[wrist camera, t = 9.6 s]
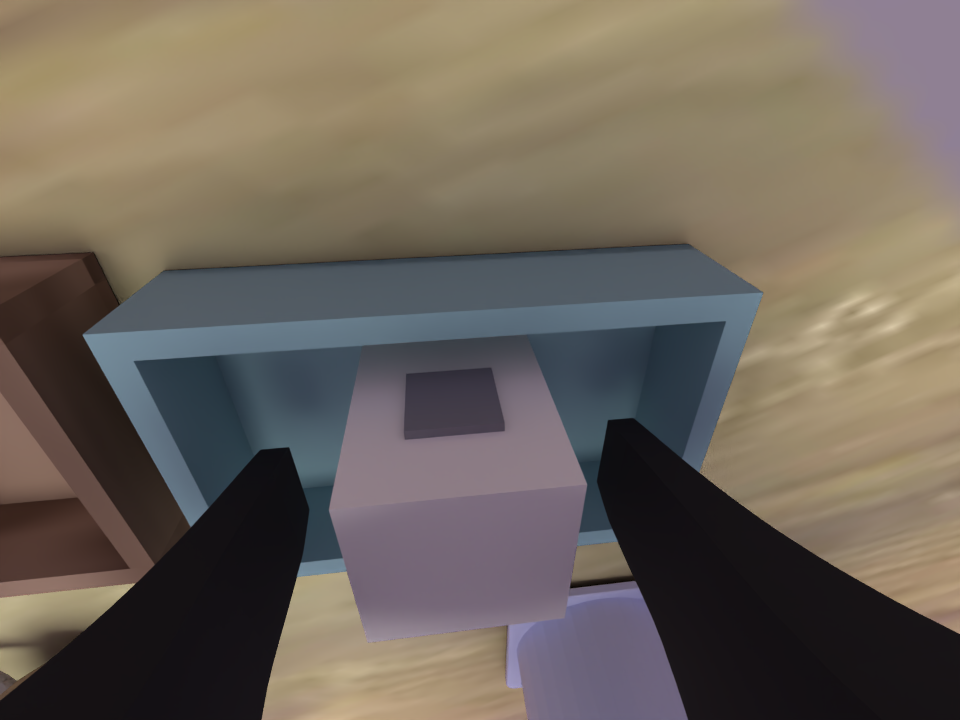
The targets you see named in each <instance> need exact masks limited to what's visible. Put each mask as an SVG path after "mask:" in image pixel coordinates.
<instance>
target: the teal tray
mask: <svg viewBox="0 0 960 720" xmlns="http://www.w3.org/2000/svg"><path fill="white" fill-rule="evenodd" d="M762 295H763V292H762V291H760V290H759V289H757V288H756V287H754V286H753V285H751V284H749V283H748V282H746V281H745V280H743V279H742V278H740V277H739V276H737V275H736V274H734V273H732V272H731V271H729V270H728V269H726V268H725V267H723V266H722V265H720V264H719V263H717V262H715V261H714V260H712V259H711V258H709V257H708V256H706V255H705V254H703V253H702V252H700V251H698V250H697V249H695V248H694V247H692V246H691V245H689V244H679V245H659V246H640V247H620V248H600V249H581V250H561V251H542V252H522V253H502V254H483V255H463V256H444V257H424V258H404V259H385V260H365V261H346V262H326V263H306V264H287V265H267V266H248V267H228V268H209V269H189V270H169V271H163V272H161V273H160V274H159V275H158V276H156V277H155V278H154V279H153V280H151V281H150V282H149V283H147V284H146V285H145V286H144V287H142V288H141V289H140V290H139V291H137V292H136V293H135V294H133V295H132V296H131V297H130V298H128V299H127V300H126V301H125V302H123V303H122V304H121V305H119V306H118V307H117V308H116V309H114V310H113V311H112V312H111V313H109V314H108V315H107V316H105V317H104V318H103V319H102V320H100V321H99V322H98V323H97V324H95V325H94V326H93V327H91V328H90V329H89V330H88V331H86V332H85V333H84V334H83V337H84V339H85V340H86V342H87V344H88V346H89V348H90V349H91V351H92V353H93V355H94V356H95V358H96V360H97V362H98V363H99V365H100V367H101V369H102V371H103V372H104V374H105V376H106V378H107V379H108V381H109V383H110V385H111V386H112V388H113V390H114V392H115V394H116V395H117V397H118V399H119V401H120V402H121V404H122V406H123V408H124V409H125V411H126V413H127V415H128V417H129V418H130V420H131V422H132V424H133V425H134V427H135V429H136V431H137V433H138V434H139V436H140V438H141V440H142V441H143V443H144V445H145V447H146V448H147V450H148V452H149V454H150V456H151V457H152V459H153V461H154V463H155V464H156V466H157V468H158V470H159V471H160V473H161V475H162V477H163V479H164V480H165V482H166V484H167V486H168V487H169V489H170V491H171V493H172V495H173V496H174V498H175V500H176V502H177V503H178V505H179V507H180V509H181V510H182V512H183V514H184V516H185V518H186V519H187V521H188V523H189V525H190V526H191V527H192V525H193V524H194V523H195V522H196V521H197V520H198V519H199V518H200V517H201V516H202V514H203V513H204V512H205V511H206V510H207V509H208V508H209V507H210V506H211V505H212V504H213V502H214V501H215V500H216V499H217V498H218V497H219V496H220V494H221V493H222V492H223V491H224V490H225V489H226V488H227V487H228V485H229V484H230V483H231V482H232V481H233V480H234V479H235V477H236V476H237V475H238V474H239V473H240V472H241V471H242V469H243V468H244V467H245V466H246V465H247V464H248V463H249V462H250V460H251V459H252V458H253V457H254V456H255V455H256V454H257V453H258V452H259V451H260V450H261V449H272V448H284V447H289V448H290V451H291V454H292V457H293V460H294V463H295V466H296V469H297V472H298V475H299V478H300V482H301V485H302V488H303V491H304V494H305V497H306V500H307V503H308V506H309V509H310V510H309V517H308V525H307V532H306V539H305V545H304V551H303V556H302V560H301V564H300V568H299V571H298V575H297V577H301V576H310V575H319V574H328V573H337V572H346V571H347V570H346V567H345V563H344V560H343V557H342V553H341V550H340V546H339V543H338V540H337V536H336V533H335V530H334V526H333V523H332V519H331V516H330V513H329V506H330V501H331V496H332V492H333V487H334V482H335V477H336V472H337V467H338V462H339V458H340V453H341V448H342V443H343V438H344V433H345V428H346V424H347V419H348V414H349V409H350V404H351V399H352V394H353V389H354V385H355V380H356V375H357V370H358V365H359V360H360V355H361V351H362V346H364V345H379V344H393V343H408V342H423V341H438V340H453V339H468V338H483V337H497V336H512V335H527V337H528V339H529V342H530V344H531V347H532V349H533V352H534V354H535V357H536V359H537V362H538V364H539V367H540V369H541V372H542V374H543V376H544V379H545V381H546V384H547V386H548V389H549V391H550V394H551V396H552V399H553V401H554V404H555V406H556V409H557V411H558V414H559V416H560V418H561V421H562V423H563V426H564V428H565V431H566V433H567V436H568V438H569V441H570V443H571V446H572V448H573V451H574V453H575V455H576V458H577V460H578V463H579V465H580V468H581V470H582V473H583V475H584V478H585V480H586V483H587V489H586V495H585V501H584V507H583V513H582V518H581V524H580V530H579V536H578V542H577V546H582V545H591V544H600V543H609V542H618V541H617V539H616V536H615V534H614V532H613V530H612V527H611V525H610V523H609V520H608V517H607V514H606V511H605V507H604V504H603V501H602V498H601V494H600V491H599V488H598V484H597V477H598V471H599V466H600V460H601V455H602V449H603V444H604V439H605V433H606V428H607V422H608V420H613V419H625V418H634V419H635V420H637V421H638V422H639V423H640V424H642V425H643V426H644V427H645V428H646V429H648V430H649V431H650V432H651V433H652V434H653V435H655V436H656V437H657V438H658V439H659V440H661V441H662V442H663V443H664V444H665V445H666V446H668V447H669V448H670V449H671V450H672V451H674V452H675V453H676V454H677V455H678V456H680V457H681V458H682V459H683V460H684V461H686V462H687V463H688V464H689V465H690V466H692V467H693V468H694V469H695V470H697V471H698V472H699V471H700V468H701V466H702V463H703V460H704V457H705V454H706V452H707V449H708V446H709V443H710V440H711V438H712V435H713V432H714V429H715V427H716V424H717V421H718V418H719V415H720V413H721V410H722V407H723V404H724V401H725V399H726V396H727V393H728V390H729V387H730V385H731V382H732V379H733V376H734V373H735V371H736V368H737V365H738V362H739V359H740V357H741V354H742V351H743V348H744V345H745V343H746V340H747V337H748V334H749V331H750V329H751V326H752V323H753V320H754V317H755V315H756V312H757V309H758V306H759V303H760V301H761V298H762Z"/></svg>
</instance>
